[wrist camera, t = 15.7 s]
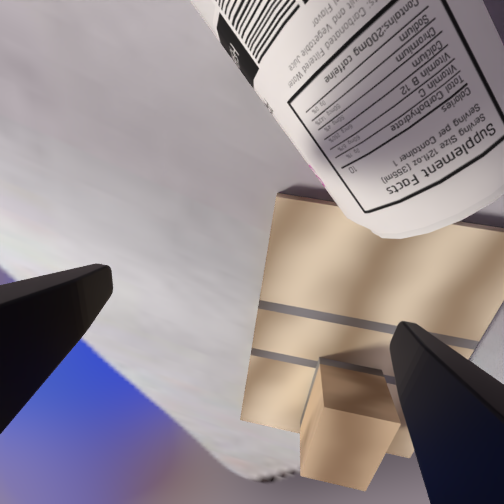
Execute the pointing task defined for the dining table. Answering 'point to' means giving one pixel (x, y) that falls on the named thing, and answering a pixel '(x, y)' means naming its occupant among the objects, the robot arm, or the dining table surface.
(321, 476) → the block
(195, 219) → the dining table surface
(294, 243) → the board
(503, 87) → the supplement can
